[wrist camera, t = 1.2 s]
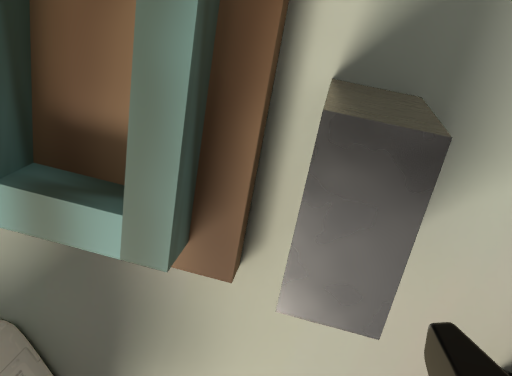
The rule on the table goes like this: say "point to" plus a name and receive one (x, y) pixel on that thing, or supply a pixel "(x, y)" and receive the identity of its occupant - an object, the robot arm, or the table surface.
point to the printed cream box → (18, 354)
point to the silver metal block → (361, 206)
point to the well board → (105, 101)
